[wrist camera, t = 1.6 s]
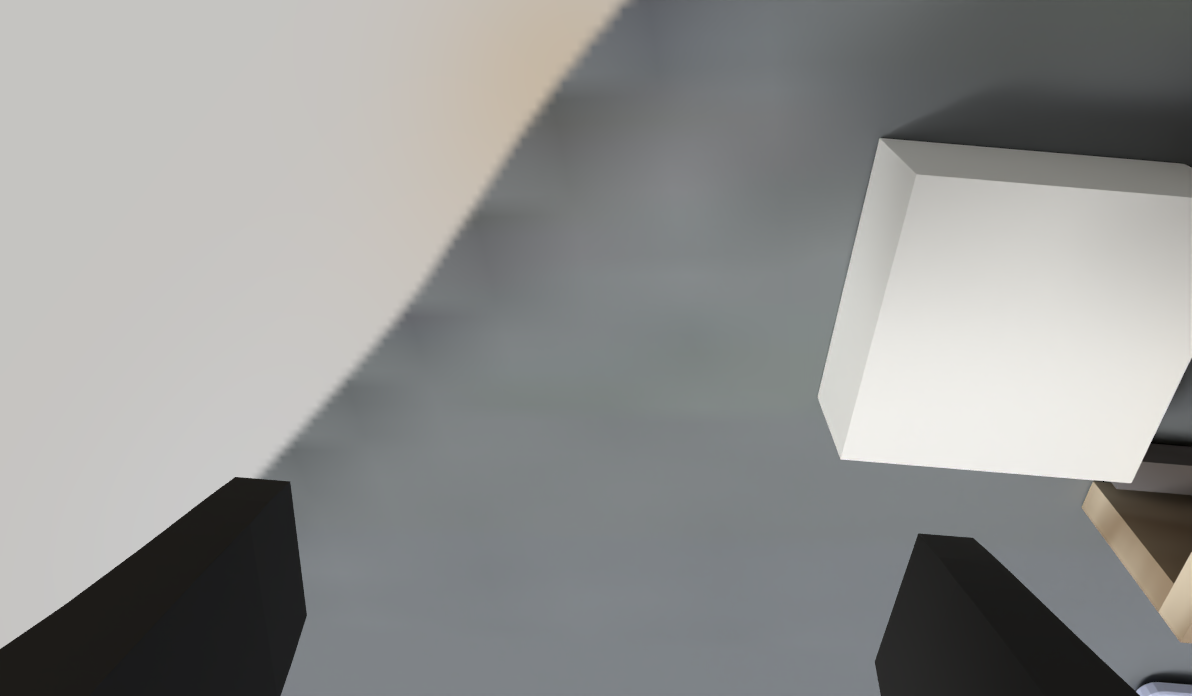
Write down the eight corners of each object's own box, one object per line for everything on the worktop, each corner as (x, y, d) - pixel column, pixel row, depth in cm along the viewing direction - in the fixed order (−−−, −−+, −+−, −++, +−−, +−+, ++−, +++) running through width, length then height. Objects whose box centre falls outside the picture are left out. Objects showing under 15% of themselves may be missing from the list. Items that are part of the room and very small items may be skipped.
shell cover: (1076, 418, 19) (1130, 483, 17) (817, 397, 19) (840, 459, 17) (1183, 163, 16) (1264, 203, 14) (879, 138, 16) (916, 173, 14)
